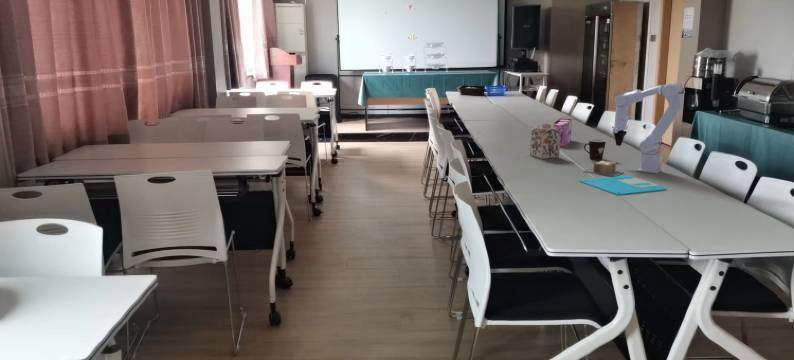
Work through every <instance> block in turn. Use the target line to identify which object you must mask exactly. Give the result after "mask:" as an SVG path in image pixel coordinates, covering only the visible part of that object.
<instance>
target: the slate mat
mask: <svg viewBox="0 0 794 360" xmlns="http://www.w3.org/2000/svg"><path fill="white" fill-rule="evenodd" d="M593 171H594V167H590V168H587V169H584V170H583V171H582V172H583V173H589V174H593V175H594V174H595V175H601V176H602V175H603V176H606V177H607V176H609V177H617V176H622V174H623V175H624V171H617V170H615V171H613V172H611V173H609V174H605V173H598V172H593Z"/></svg>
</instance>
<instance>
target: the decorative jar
mask: <svg viewBox="0 0 794 360" xmlns="http://www.w3.org/2000/svg"><path fill="white" fill-rule="evenodd" d="M560 135H561V134H560V132H559V130H558V129H557V128H555V127H553V126H552V124H551V123H550V122H549V123H547V122H545V123H541V125H540V126H538V125H537V126H535V127H533V129H532V130H531V132H530V142H529V143H530V144H529V156H531V157H535V158H537V159H540V160H544V159H545V160H546V159H554V158H555V159H556V158H560V150H561V146H560Z"/></svg>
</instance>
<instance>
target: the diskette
mask: <svg viewBox="0 0 794 360" xmlns="http://www.w3.org/2000/svg"><path fill="white" fill-rule="evenodd" d="M578 183H582V184H584V185H587V186H590V187H593V188H595V189H598V190H600V191H604V192H607V193H609V194H612V195H615V196H626V195H635V194H644V193H654V192H662V191H666V190H667V187H666V186H663V185H660V184H657V183H653V182H652V181H651V182H650V181H648V180H644V179H640V178H637V177H633V176H631V175H618V176H616V177H614V176H609V177H607V176H606V177H599V178H598V177H597V178H588V179H579V182H578Z"/></svg>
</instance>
